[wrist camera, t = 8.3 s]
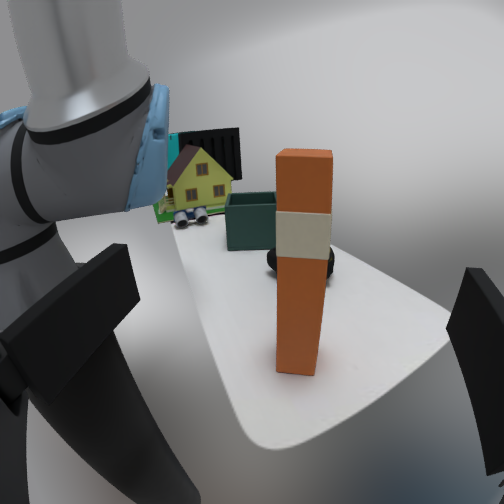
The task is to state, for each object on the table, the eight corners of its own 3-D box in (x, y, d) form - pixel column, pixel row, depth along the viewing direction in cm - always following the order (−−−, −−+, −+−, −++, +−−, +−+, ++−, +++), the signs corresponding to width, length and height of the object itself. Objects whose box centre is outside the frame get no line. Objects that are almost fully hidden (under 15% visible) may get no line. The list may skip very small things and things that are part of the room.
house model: (158, 223, 53) (149, 155, 47) (151, 200, 70) (145, 149, 64) (250, 208, 58) (247, 144, 53) (221, 189, 75) (218, 140, 70)
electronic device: (128, 188, 85) (122, 141, 78) (196, 173, 99) (193, 130, 93) (159, 200, 67) (152, 136, 60) (242, 180, 81) (239, 127, 75)
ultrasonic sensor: (176, 232, 52) (175, 219, 49) (173, 223, 53) (172, 210, 50) (208, 225, 54) (209, 213, 51) (205, 216, 55) (205, 203, 52)
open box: (227, 250, 42) (224, 206, 39) (230, 232, 48) (228, 193, 45) (281, 248, 42) (281, 204, 39) (277, 230, 48) (276, 191, 45)
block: (275, 372, 22) (274, 155, 15) (282, 342, 25) (283, 148, 18) (314, 376, 21) (334, 157, 14) (317, 346, 24) (332, 149, 17)
